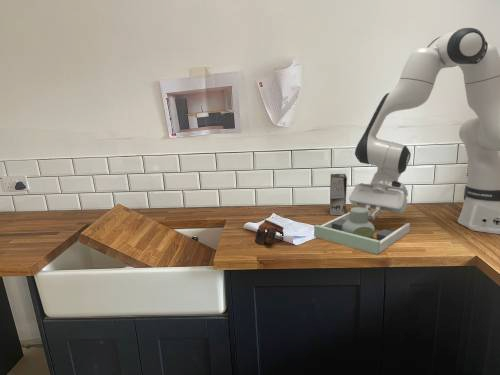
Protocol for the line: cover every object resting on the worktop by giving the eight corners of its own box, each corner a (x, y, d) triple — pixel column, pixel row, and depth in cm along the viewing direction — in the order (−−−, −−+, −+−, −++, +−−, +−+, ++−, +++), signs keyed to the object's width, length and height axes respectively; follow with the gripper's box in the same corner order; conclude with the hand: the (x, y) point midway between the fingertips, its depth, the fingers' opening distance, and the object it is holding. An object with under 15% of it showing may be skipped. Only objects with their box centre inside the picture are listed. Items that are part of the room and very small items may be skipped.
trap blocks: (395, 238, 117) (395, 231, 116) (387, 243, 113) (388, 236, 112) (340, 225, 131) (340, 219, 131) (331, 229, 127) (332, 223, 127)
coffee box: (345, 215, 143) (347, 177, 139) (329, 215, 144) (330, 177, 140) (344, 209, 151) (345, 173, 148) (329, 208, 153) (330, 173, 149)
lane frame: (409, 231, 123) (410, 220, 122) (377, 254, 105) (377, 242, 104) (350, 218, 139) (351, 208, 138) (314, 236, 121) (314, 225, 120)
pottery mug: (251, 238, 122) (260, 217, 123) (275, 248, 123) (284, 227, 124) (255, 242, 111) (266, 219, 111) (282, 254, 111) (292, 230, 112)
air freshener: (347, 242, 115) (348, 214, 113) (338, 233, 123) (339, 206, 121) (378, 240, 116) (380, 212, 114) (367, 231, 124) (369, 205, 122)
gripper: (354, 178, 133) (340, 208, 129) (408, 184, 119) (395, 219, 115) (359, 187, 137) (346, 216, 133) (412, 194, 123) (400, 227, 119)
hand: (369, 217), depth 124 cm, fingers closed
